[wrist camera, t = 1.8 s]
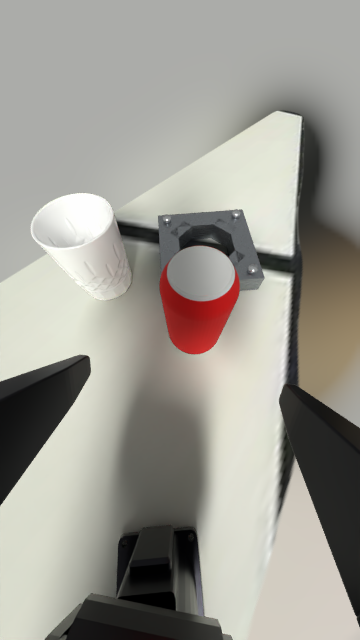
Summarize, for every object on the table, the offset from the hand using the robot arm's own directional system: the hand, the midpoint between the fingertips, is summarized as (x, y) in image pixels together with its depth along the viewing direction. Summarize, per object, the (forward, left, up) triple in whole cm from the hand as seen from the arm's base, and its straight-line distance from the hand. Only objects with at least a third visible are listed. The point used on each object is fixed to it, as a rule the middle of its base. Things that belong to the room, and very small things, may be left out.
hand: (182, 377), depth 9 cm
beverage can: (+7, -2, -14) cm, 16 cm away
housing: (+19, -5, -13) cm, 24 cm away
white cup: (+16, +9, -14) cm, 23 cm away
